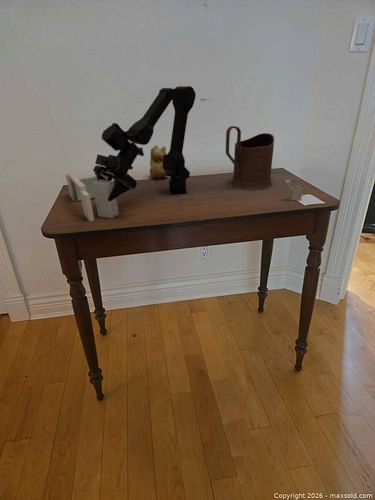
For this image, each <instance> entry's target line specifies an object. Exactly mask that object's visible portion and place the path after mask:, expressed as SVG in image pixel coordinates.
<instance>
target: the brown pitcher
mask: <svg viewBox="0 0 375 500" xmlns="http://www.w3.org/2000/svg"><path fill="white" fill-rule="evenodd" d="M232 129H235V130H236V132H237V135H236V136H237V138H236V142H235V143H234V153H233V155H234V158H233V156H232V155H231V154H230V138H231V137H230V136H231V135H230V134H231V131H232ZM241 130H242V129H241V128H240V127H239V126H236V125H230V126H229V127H227V129H226V131H225V132H226V133H225V155H226V156H227V157H228V159H229V160H230V161H231V162H232V164H233V177H232V180H231V181H230V183H231V185H232V186H233V187H232V186H231V185H230V186H231V187H232V188H234V187H235V188H234V189H236V188H238V189H237V190H240V189H243V190H242V191H248V190H249V191H250V192H253V191H257V190H259V191H265V190H264V189H266V190H268V188H269V189H271V188H273V186H274V185H273V182H272V177H271V175H272V166H273V156H274V155H273V154H274V147H275V137H274V135H273V134H272V133H266V132H264V133H259V134H257V135H254V136H251V137H250V138H248V139H244V140H242V138H241V137H242V136H241V135H242V131H241ZM272 185H273V186H272ZM270 187H271V188H270Z"/></svg>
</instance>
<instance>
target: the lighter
mask: <svg viewBox="0 0 375 500" xmlns="http://www.w3.org/2000/svg"><path fill="white" fill-rule="evenodd" d="M284 184H285V187H286V189H287V191H288V192H289V193H290V194H289V199H290V201H292V200H296V201H300V200H299V199H301V200H302V199H303V198H302V197H303V191H304V189H303V188H302V187H301V185H294V186H292V183H291V180H290V179H289V178H288V179H286V180H285V181H284ZM292 202H293V201H292Z"/></svg>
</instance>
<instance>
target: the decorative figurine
mask: <svg viewBox="0 0 375 500" xmlns="http://www.w3.org/2000/svg"><path fill="white" fill-rule="evenodd" d="M166 149H167V147H166V146H165V145H163V146H162V147H161V148H159V145H157V144H155V145H154V146H153V147H151V148H150V160H149V161H150V162H149V166H150V168H149V174H150V177H151V179H153V180H159V179H160V180H162V179H166V178H167V177H168V176H167V175H166V172H165V171H164V170H163V165H162V163H163V156H164V154H165V155H167V154H168V153H167V151H166Z"/></svg>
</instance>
